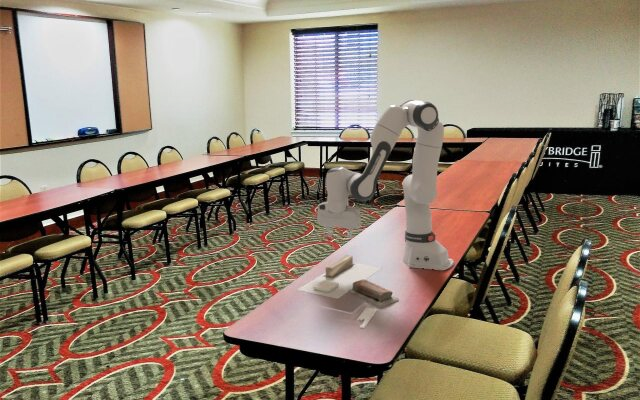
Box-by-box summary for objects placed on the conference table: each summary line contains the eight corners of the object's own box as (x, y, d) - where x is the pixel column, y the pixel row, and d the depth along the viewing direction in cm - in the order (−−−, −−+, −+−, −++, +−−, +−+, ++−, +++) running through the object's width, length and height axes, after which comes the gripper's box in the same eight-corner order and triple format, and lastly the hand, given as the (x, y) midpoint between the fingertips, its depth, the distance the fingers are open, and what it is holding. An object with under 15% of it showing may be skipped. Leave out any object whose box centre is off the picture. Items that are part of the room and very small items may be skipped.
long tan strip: (352, 264, 234) (352, 255, 233) (331, 277, 219) (331, 268, 218) (346, 263, 235) (346, 254, 235) (325, 276, 221) (325, 267, 220)
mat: (381, 268, 228) (381, 267, 228) (337, 299, 197) (337, 298, 197) (344, 262, 239) (344, 261, 238) (296, 290, 207) (296, 289, 207)
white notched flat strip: (349, 327, 176) (349, 324, 175) (363, 309, 189) (363, 306, 189) (364, 329, 174) (364, 326, 173) (377, 311, 187) (377, 308, 187)
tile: (339, 283, 209) (328, 289, 203) (339, 286, 210) (328, 292, 203) (324, 280, 213) (313, 286, 206) (324, 282, 213) (313, 289, 207)
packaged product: (347, 282, 203) (367, 276, 208) (348, 294, 204) (367, 287, 209) (379, 296, 188) (399, 289, 194) (379, 309, 189) (399, 301, 195)
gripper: (363, 205, 218) (364, 236, 221) (321, 202, 229) (324, 232, 232) (356, 208, 213) (357, 241, 216) (314, 205, 224) (316, 236, 227)
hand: (339, 236), depth 224 cm, fingers open, 8 cm apart
